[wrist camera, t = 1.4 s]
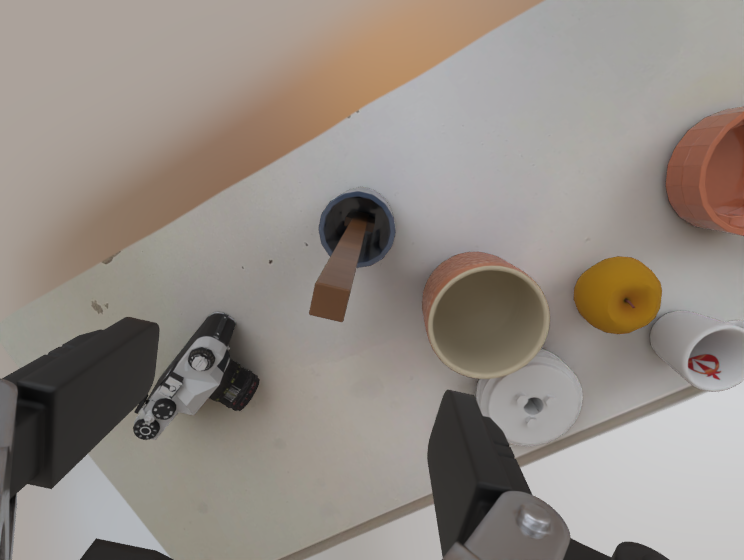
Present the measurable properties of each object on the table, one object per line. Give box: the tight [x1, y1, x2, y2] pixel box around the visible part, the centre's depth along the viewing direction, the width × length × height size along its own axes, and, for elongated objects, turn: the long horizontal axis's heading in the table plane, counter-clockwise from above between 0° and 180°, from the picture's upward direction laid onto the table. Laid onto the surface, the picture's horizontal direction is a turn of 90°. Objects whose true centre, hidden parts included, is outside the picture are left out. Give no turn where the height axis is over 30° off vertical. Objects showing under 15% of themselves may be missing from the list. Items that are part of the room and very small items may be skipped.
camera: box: [133, 312, 259, 440], centre depth 51 cm, size 15×11×10 cm
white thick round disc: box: [476, 349, 583, 446], centre depth 53 cm, size 13×13×5 cm
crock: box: [319, 187, 396, 268], centre depth 45 cm, size 7×7×10 cm
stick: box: [309, 211, 375, 322], centre depth 34 cm, size 2×3×32 cm, turn 77°
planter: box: [422, 252, 550, 379], centre depth 47 cm, size 12×12×11 cm
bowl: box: [666, 106, 744, 236], centre depth 45 cm, size 13×13×6 cm
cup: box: [650, 311, 744, 392], centre depth 49 cm, size 11×8×8 cm
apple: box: [574, 256, 662, 334], centre depth 47 cm, size 9×8×9 cm
